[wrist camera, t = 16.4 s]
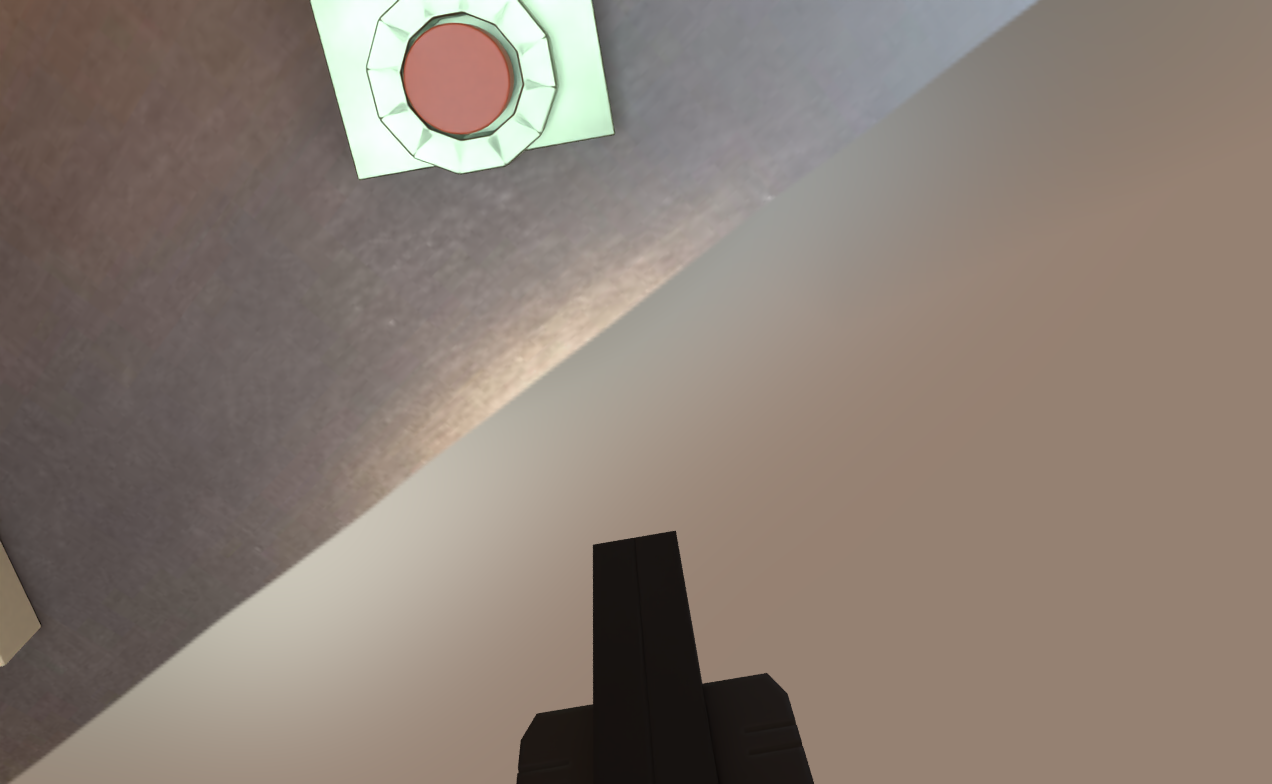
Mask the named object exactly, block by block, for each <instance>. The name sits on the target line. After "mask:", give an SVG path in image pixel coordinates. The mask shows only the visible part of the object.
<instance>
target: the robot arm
mask: <svg viewBox="0 0 1272 784" xmlns="http://www.w3.org/2000/svg"><path fill="white" fill-rule="evenodd" d="M518 770H519V773H518V774H517V784H814V782H813V778H812V775H811V772H810V768H809V765H808V761H807V758H806V755H805V751H804V748H803V746H802V742H801V738H800V735H799V731H798V728H797V725H796V722H795V717H794V714H793V711H792V708H791V704H790V701H789V697H788V694H787V693H786V692H785V691H784V690H783V689H782V688H781V687H780V686H779V685H778V684H777V683H776V682H775V681H774V680H773V679H772V678H771V677H770V676H769V675H768V674H767V673H764V674H758V675H753V676H747V677H740V678H734V679H728V680H723V681H716V682H710V683H704V684H702V680H701V674H700V668H699V662H698V656H697V650H696V644H695V638H694V633H693V627H692V621H691V616H690V610H689V604H688V598H687V593H686V587H685V581H684V576H683V570H682V564H681V558H680V552H679V546H678V541H677V535H676V531H671V532H666V533H659V534H653V535H648V536H642V537H636V538H630V539H624V540H618V541H613V542H606V543H601V544H595V545H593V705H586V706H580V707H574V708H568V709H562V710H556V711H550V712H544V713H538V714H536V716H535V718H534V719H533V721H532V723H531V724H530V726H529V727H528V729H527V731H526V732H525V734H524V736H523V738H522V739H521V744H520V755H519V763H518Z"/></svg>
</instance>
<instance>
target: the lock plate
mask: <svg viewBox="0 0 1272 784" xmlns="http://www.w3.org/2000/svg"><path fill="white" fill-rule="evenodd" d="M40 627H41V625H40V623H39V621H38V619H37V617H36V614H35V612H34V610H33V608H32V606H31V604H30V602H29V600H28V598H27V596H26V594H25V591H24V589H23V587H22V585H21V583H20V581H19V579H18V577H17V575H16V573H15V571H14V568H13V566H12V564H11V562H10V560H9V558H8V556H7V554H6V552H5V550H4V548H3V545H2V543H1V541H0V666H5V665H6V664H7V663H8V662H9V661H10V660H11V659H12V657H13V656H14V655H15V654H16V653H17V652H18V651H19V650H20V649H21V648H22V647H23V646H24V645H25V643H26V642H27V641H28V640H29V639H30V638H31V637H32V636H33V635H34V634H35V633H36V632H37V631H38V630H39V628H40Z"/></svg>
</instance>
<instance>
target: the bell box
mask: <svg viewBox="0 0 1272 784" xmlns="http://www.w3.org/2000/svg"><path fill="white" fill-rule="evenodd" d="M309 1H310V4H311V8H312V12H313V15H314V19H315V23H316V26H317V30H318V34H319V37H320V41H321V45H322V48H323V52H324V56H325V59H326V63H327V67H328V70H329V74H330V78H331V81H332V85H333V89H334V92H335V96H336V100H337V103H338V107H339V111H340V114H341V118H342V122H343V125H344V129H345V133H346V136H347V140H348V144H349V147H350V151H351V155H352V158H353V162H354V166H355V169H356V173H357V177H358V179H359V180H364V179H370V178H375V177H381V176H386V175H392V174H398V173H403V172H409V171H414V170H420V169H426V168H431V167H439V168H442V169H445V170H448V171H451V172H453V173H456V174H466V173H472V172H478V171H483V170H489V169H495V168H500V167H505V166H507V165H509V164H510V163H511V162H512V161H513V160H514V159H515V158H516V157H518V156H519V155H520V154H521V153H522V152H523V151H527V150H532V149H538V148H543V147H549V146H555V145H560V144H566V143H571V142H577V141H583V140H588V139H594V138H600V137H605V136H611V135H615V129H614V123H613V117H612V112H611V106H610V100H609V94H608V88H607V82H606V76H605V70H604V65H603V59H602V53H601V47H600V41H599V35H598V29H597V24H596V18H595V12H594V6H593V0H309ZM444 23H465V24H470V25H474V26H477V27H480V28H482V29H484V30H486V31H487V32H489V33H490V34H492V35H493V36H494V37H495V38H496V39H497V40H498V41H499V42H500V43H501V44H502V46H503V47H504V48H505V50H506V52H507V54H508V55H509V58H510V60H511V63H512V67H513V72H514V88H513V93H512V97H511V99H510V102H509V104H508V106H507V108H506V109H505V110H504V112H503V113H502V114H501V115H500V116H499V117H498V118H497V119H496V120H495V121H494V122H493V123H491V124H490V125H489V126H487V127H486V128H484V129H482V130H480V131H477V132H474V133H470V134H451V133H446V132H443V131H440V130H438V129H436V128H434V127H433V126H431V125H429V124H428V123H427V122H425V121H424V120H423V119H422V118H421V117H420V116H419V115H418V114H417V112H416V111H415V110H414V108H413V107H412V105H411V103H410V101H409V99H408V97H407V94H406V90H405V86H404V77H403V72H404V64H405V59H406V57H407V54H408V52H409V50H410V48H411V46H412V45H413V43H414V42H415V40H416V39H417V38H418V37H419V36H420V35H421V34H423V33H424V32H425V31H427V30H428V29H430V28H432V27H434V26H437V25H440V24H444Z"/></svg>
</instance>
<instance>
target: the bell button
mask: <svg viewBox="0 0 1272 784" xmlns="http://www.w3.org/2000/svg"><path fill="white" fill-rule="evenodd" d="M403 77H404V86H405V90H406V94H407V97H408V99H409V101H410V103H411V105H412V107H413V108H414V110H415V111H416V112H417V114H418V115H419V116H420V117H421V118H422V119H423V120H424V121H425V122H427V123H428V124H429V125H431V126H433V127H434V128H436V129H438V130H440V131H443V132H446V133H451V134H470V133H474V132H477V131H480V130H482V129H484V128H486V127H487V126H489V125H490V124H491V123H493V122H494V121H495V120H496V119H497V118H498V117H499V116H500V115H501V114H502V113H503V112H504V110H505V109H506V108H507V106H508V104H509V102H510V99H511V97H512V93H513V88H514V72H513V67H512V63H511V60H510V58H509V55H508V54H507V52H506V50H505V48H504V47H503V46H502V44H501V43H500V42H499V41H498V40H497V39H496V38H495V37H494V36H493V35H492V34H490V33H489V32H487V31H486V30H484V29H482V28H480V27H477V26H474V25H470V24H465V23H444V24H440V25H437V26H434V27H432V28H430V29H428V30H427V31H425V32H424V33H423V34H421V35H420V36H419V37H418V38H417V39H416V40H415V42H414V43H413V45H412V46H411V48H410V50H409V52H408V54H407V57H406V59H405V64H404V72H403Z"/></svg>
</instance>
